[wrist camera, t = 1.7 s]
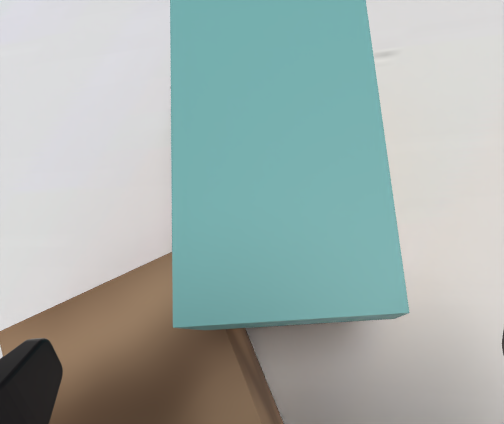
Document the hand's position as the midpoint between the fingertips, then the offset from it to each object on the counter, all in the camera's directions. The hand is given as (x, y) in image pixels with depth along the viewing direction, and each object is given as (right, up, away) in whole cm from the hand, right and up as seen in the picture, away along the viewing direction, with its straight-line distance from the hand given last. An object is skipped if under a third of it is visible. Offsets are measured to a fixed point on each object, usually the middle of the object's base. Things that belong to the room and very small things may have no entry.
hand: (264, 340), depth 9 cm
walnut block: (-4, -6, +13) cm, 15 cm away
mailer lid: (+1, +5, +9) cm, 10 cm away
